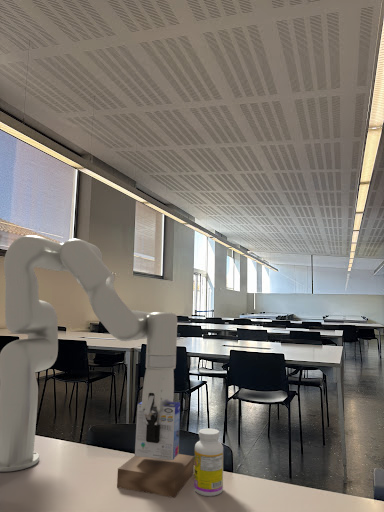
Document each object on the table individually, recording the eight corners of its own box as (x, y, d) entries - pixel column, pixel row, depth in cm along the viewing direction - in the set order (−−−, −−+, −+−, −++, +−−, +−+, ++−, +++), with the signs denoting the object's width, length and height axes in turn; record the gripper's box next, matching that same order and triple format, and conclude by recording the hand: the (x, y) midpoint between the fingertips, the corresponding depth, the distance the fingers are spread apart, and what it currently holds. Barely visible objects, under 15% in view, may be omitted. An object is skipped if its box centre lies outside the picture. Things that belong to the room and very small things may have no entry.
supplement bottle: (196, 482, 92) (197, 425, 94) (224, 485, 90) (225, 428, 92) (191, 495, 85) (192, 434, 87) (220, 499, 84) (221, 436, 86)
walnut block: (116, 487, 88) (117, 468, 89) (143, 465, 101) (143, 448, 102) (174, 497, 84) (174, 477, 85) (193, 473, 97) (194, 456, 98)
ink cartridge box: (179, 453, 95) (181, 392, 97) (174, 461, 90) (176, 396, 92) (141, 449, 97) (144, 389, 99) (134, 457, 92) (136, 393, 94)
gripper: (160, 357, 106) (157, 426, 103) (131, 364, 90) (127, 447, 87) (186, 359, 104) (183, 430, 101) (161, 367, 88) (158, 451, 85)
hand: (157, 437), depth 94 cm, fingers closed on ink cartridge box, 5 cm apart
